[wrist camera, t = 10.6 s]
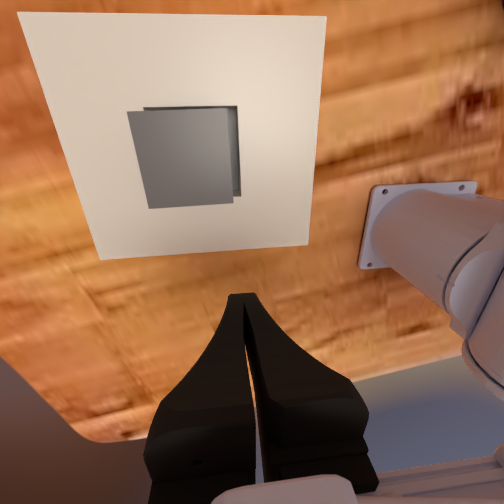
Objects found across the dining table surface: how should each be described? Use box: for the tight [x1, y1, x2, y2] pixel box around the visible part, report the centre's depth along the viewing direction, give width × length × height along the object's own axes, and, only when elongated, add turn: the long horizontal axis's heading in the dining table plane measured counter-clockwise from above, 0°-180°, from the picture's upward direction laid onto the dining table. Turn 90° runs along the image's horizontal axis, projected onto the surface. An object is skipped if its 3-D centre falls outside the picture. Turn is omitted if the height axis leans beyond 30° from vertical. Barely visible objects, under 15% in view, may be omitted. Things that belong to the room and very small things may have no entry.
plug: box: [127, 108, 234, 209], centre depth 14 cm, size 4×4×8 cm
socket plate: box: [17, 12, 327, 260], centre depth 17 cm, size 16×14×2 cm
